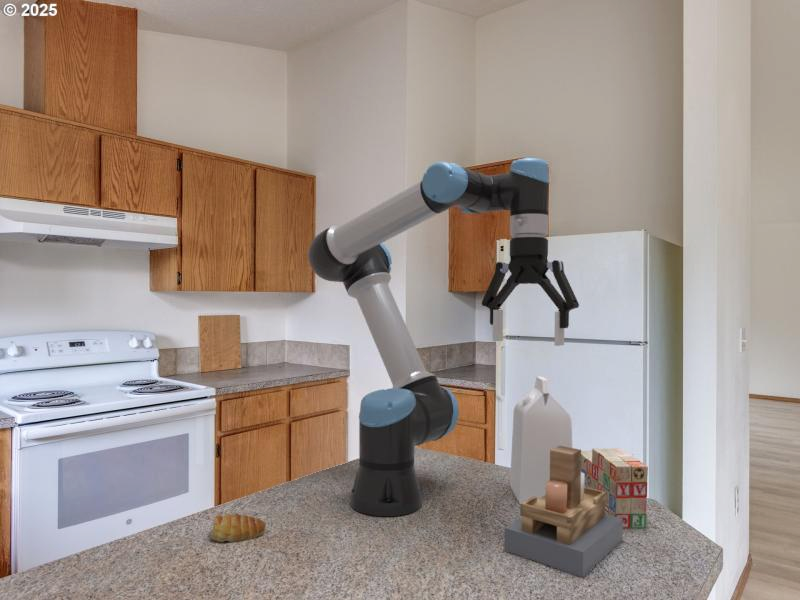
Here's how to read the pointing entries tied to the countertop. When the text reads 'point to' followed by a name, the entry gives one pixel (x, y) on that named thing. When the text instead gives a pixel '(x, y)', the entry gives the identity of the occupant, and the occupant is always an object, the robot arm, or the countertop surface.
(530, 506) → the carrier tray
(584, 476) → the white egg
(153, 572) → the countertop surface
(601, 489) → the stack of blocks
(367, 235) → the robot arm
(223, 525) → the pastry
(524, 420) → the milk
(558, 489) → the brown egg
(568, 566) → the dock
